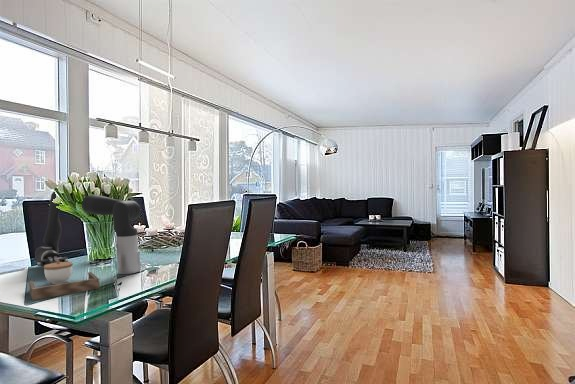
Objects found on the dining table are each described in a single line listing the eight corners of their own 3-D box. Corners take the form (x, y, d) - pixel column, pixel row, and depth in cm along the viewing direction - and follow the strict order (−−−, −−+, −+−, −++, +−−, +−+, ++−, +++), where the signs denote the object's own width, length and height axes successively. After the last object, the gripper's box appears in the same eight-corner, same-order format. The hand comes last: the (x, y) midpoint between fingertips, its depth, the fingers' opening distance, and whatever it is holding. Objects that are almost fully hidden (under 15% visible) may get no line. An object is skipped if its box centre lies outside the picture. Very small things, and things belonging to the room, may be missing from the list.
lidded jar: (54, 279, 176) (53, 258, 176) (78, 278, 176) (77, 257, 175) (38, 286, 165) (37, 263, 165) (64, 285, 165) (62, 262, 165)
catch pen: (91, 281, 171) (91, 271, 171) (99, 288, 159) (98, 278, 159) (29, 291, 158) (28, 281, 157) (32, 300, 145) (32, 289, 145)
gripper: (34, 252, 189) (37, 258, 175) (65, 249, 197) (71, 253, 183) (35, 268, 190) (38, 274, 176) (66, 264, 197) (72, 270, 184)
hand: (55, 264), depth 180 cm, fingers closed
